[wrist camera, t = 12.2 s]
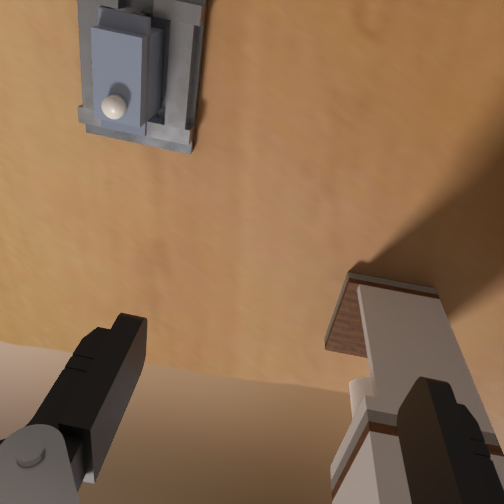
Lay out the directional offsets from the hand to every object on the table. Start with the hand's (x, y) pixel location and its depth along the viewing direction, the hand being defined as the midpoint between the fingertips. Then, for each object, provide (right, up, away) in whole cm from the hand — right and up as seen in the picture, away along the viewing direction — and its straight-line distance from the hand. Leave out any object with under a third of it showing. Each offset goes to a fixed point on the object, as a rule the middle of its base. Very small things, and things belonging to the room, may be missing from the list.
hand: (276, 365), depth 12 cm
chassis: (-11, +21, +27) cm, 36 cm away
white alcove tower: (+15, -5, +41) cm, 44 cm away
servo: (-11, +21, +27) cm, 35 cm away
